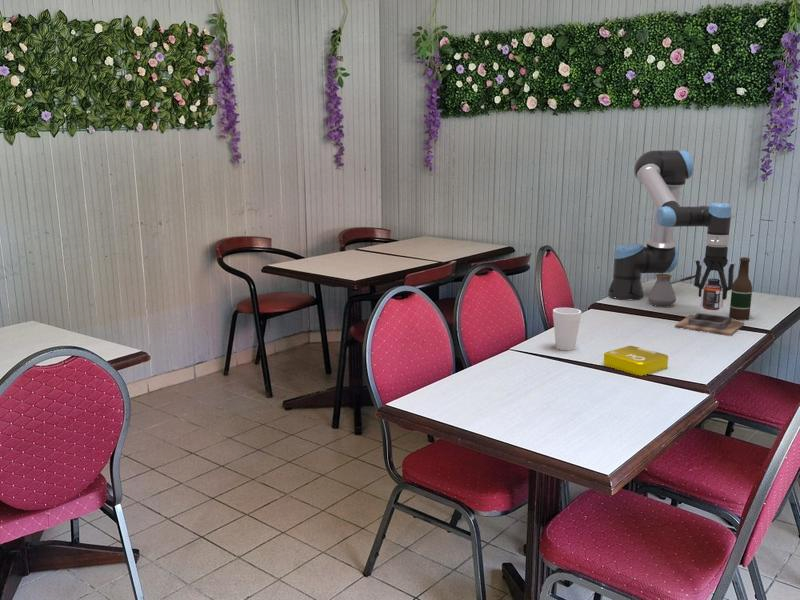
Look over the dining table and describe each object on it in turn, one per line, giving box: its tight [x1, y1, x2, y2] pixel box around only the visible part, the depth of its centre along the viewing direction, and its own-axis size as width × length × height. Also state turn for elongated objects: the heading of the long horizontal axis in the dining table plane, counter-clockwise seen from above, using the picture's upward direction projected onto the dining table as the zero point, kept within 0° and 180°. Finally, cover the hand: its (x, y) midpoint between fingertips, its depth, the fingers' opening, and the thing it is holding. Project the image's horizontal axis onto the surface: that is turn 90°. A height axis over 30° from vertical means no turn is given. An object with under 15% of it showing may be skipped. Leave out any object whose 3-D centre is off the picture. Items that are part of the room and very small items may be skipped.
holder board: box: [674, 312, 745, 337], centre depth 283 cm, size 20×20×3 cm
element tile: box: [603, 345, 669, 377], centre depth 236 cm, size 15×15×5 cm
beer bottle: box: [728, 257, 753, 321], centre depth 293 cm, size 8×8×24 cm
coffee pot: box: [647, 273, 703, 307], centre depth 314 cm, size 21×12×15 cm, turn 54°
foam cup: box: [552, 307, 582, 351], centre depth 254 cm, size 10×9×13 cm
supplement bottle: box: [702, 278, 723, 311], centre depth 281 cm, size 6×6×11 cm
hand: (711, 306), depth 282 cm, fingers closed on supplement bottle, 6 cm apart
